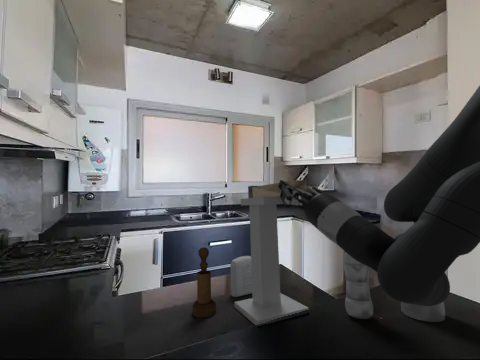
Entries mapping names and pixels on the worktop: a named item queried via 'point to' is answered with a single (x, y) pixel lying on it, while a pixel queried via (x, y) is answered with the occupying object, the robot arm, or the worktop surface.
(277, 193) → the birch bar
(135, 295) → the worktop surface
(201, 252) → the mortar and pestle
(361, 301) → the plastic bottle
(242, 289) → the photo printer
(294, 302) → the stand
